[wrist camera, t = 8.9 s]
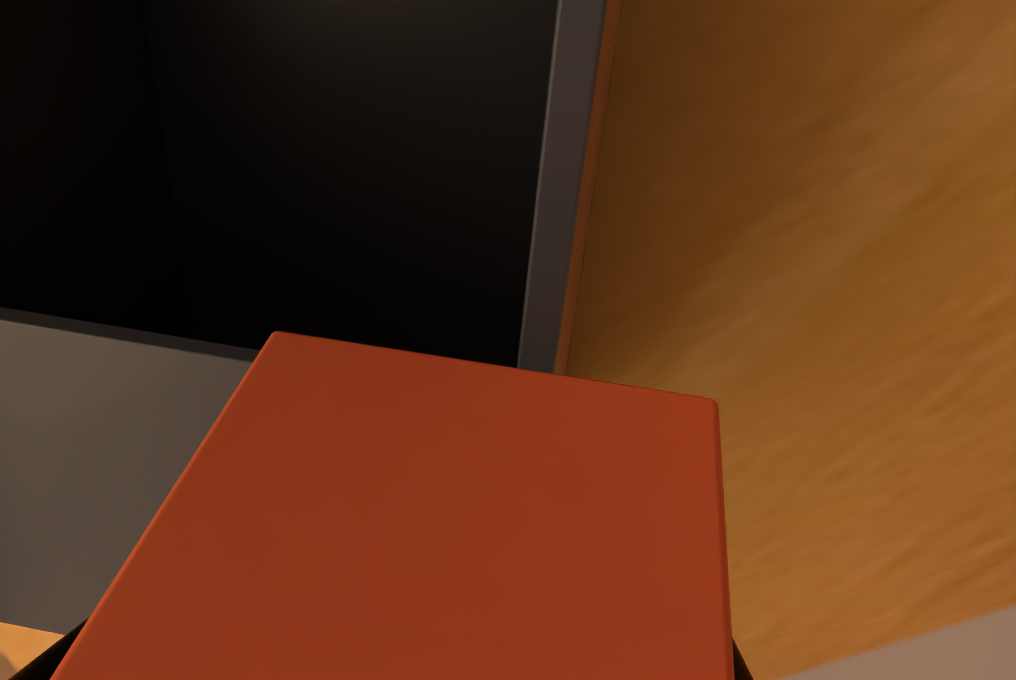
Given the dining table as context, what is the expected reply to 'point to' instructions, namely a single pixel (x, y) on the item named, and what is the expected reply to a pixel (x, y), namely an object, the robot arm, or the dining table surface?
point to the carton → (261, 227)
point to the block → (428, 531)
